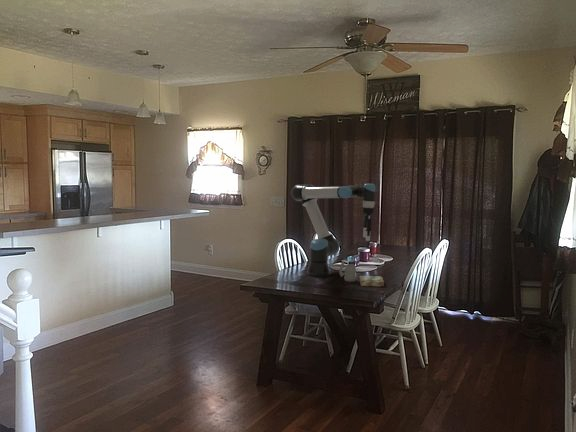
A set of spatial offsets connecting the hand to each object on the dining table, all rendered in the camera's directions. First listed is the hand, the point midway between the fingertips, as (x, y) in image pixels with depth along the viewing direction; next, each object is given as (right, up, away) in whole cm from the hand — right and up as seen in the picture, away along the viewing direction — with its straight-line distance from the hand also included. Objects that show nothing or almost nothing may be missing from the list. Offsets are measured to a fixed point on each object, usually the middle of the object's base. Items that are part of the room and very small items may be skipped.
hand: (366, 239), depth 317 cm
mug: (-14, -26, -8) cm, 31 cm away
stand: (+1, -27, -16) cm, 32 cm away
